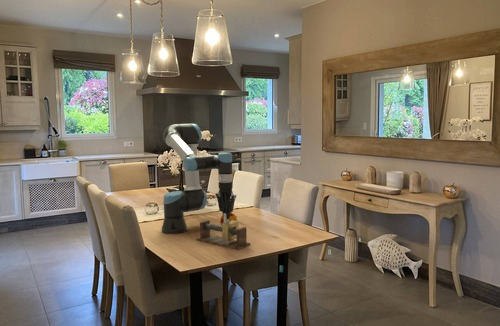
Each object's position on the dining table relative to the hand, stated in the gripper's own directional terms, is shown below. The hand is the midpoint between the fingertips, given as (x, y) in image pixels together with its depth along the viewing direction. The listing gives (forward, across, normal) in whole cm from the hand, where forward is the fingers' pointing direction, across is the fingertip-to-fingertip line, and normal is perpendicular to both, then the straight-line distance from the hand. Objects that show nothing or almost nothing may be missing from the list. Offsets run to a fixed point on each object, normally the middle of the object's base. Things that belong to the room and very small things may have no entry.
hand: (226, 224), depth 218 cm
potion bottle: (+11, -14, +19) cm, 26 cm away
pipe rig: (+11, -3, 0) cm, 11 cm away
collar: (+8, +3, 0) cm, 8 cm away
